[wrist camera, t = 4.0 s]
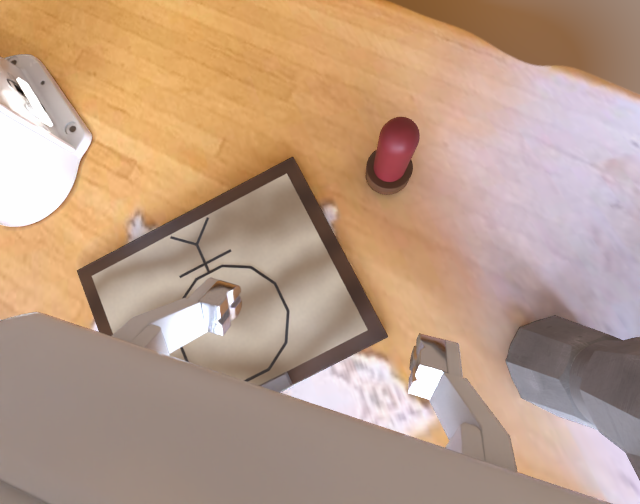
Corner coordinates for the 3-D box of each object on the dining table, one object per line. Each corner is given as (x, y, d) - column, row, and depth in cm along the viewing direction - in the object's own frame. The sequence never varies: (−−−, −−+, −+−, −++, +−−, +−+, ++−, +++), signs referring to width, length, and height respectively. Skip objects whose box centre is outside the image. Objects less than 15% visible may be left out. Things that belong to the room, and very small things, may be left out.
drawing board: (79, 270, 35) (69, 269, 34) (293, 157, 34) (291, 152, 33) (148, 458, 32) (139, 465, 30) (387, 336, 31) (389, 338, 30)
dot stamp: (357, 169, 34) (361, 117, 24) (394, 149, 33) (414, 89, 24) (377, 204, 33) (390, 166, 23) (415, 184, 33) (444, 138, 23)
